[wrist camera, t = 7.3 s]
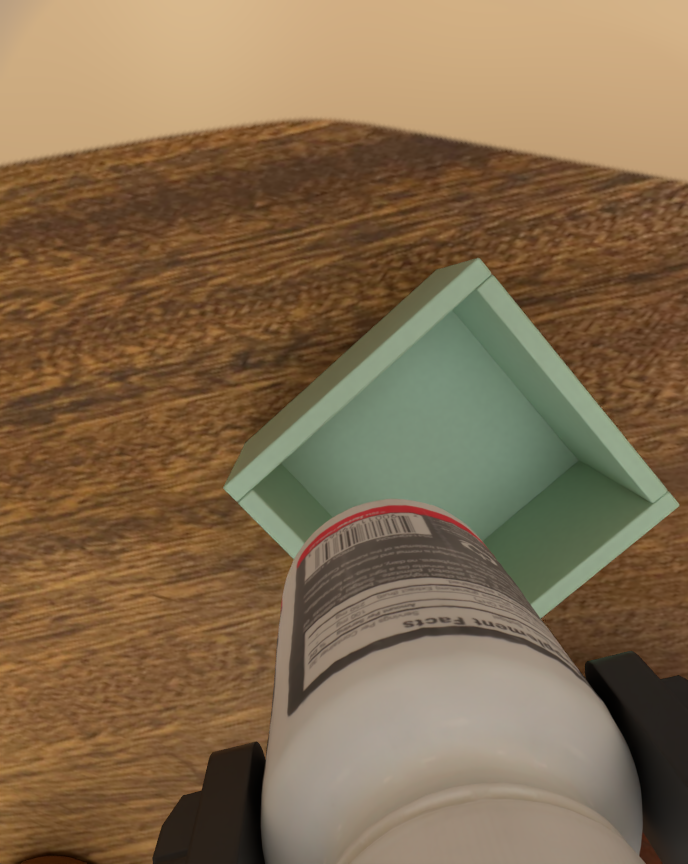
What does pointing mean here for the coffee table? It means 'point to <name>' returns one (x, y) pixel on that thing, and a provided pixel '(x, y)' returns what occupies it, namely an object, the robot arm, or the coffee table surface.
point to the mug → (53, 860)
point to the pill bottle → (432, 710)
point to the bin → (458, 440)
